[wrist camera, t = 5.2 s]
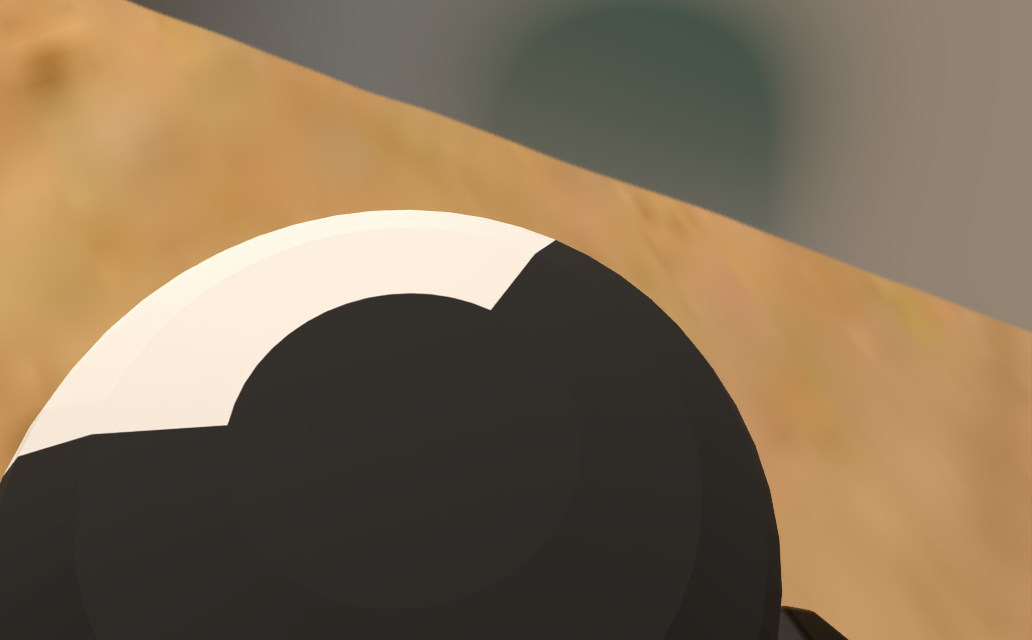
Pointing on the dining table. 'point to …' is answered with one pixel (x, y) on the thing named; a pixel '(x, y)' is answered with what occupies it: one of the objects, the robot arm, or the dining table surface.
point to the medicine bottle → (390, 455)
